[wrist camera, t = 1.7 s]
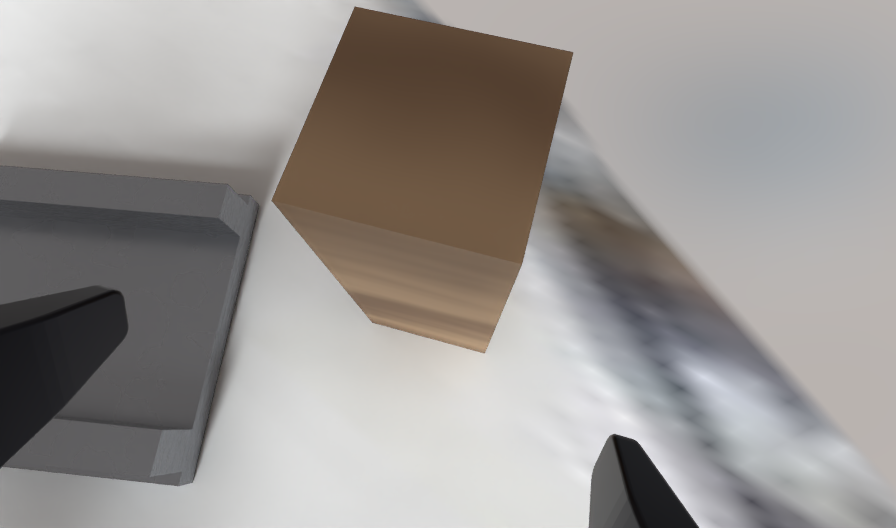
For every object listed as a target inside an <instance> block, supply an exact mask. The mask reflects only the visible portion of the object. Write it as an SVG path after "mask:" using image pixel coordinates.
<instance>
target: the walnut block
mask: <svg viewBox="0 0 896 528" xmlns="http://www.w3.org/2000/svg"><path fill="white" fill-rule="evenodd" d="M572 56H573V52H569V51H565V50H560V49H555V48H550V47H546V46H540V45H536V44H531V43H526V42H522V41H517V40H512V39H507V38H502V37H498V36H493V35H488V34H483V33H479V32H474V31H469V30H464V29H460V28H455V27H450V26H445V25H440V24H436V23H431V22H426V21H421V20H417V19H412V18H407V17H402V16H397V15H393V14H388V13H383V12H378V11H374V10H369V9H364V8H359V7H354V10H353V12H352V14H351V17H350V19H349V21H348V24H347V26H346V28H345V31H344V33H343V35H342V38H341V40H340V42H339V45H338V47H337V49H336V51H335V54H334V56H333V58H332V61H331V63H330V65H329V68H328V70H327V72H326V75H325V77H324V79H323V82H322V84H321V86H320V89H319V91H318V93H317V96H316V98H315V100H314V103H313V105H312V107H311V110H310V112H309V114H308V117H307V119H306V121H305V124H304V126H303V128H302V131H301V133H300V135H299V138H298V140H297V142H296V144H295V147H294V149H293V151H292V154H291V156H290V158H289V161H288V163H287V165H286V168H285V170H284V172H283V175H282V177H281V179H280V182H279V184H278V186H277V189H276V191H275V193H274V196H273V198H272V202H273V203H274V204H275V205H276V206H277V208H278V209H279V210H280V211H281V212H282V214H283V215H284V216H285V217H286V218H287V220H288V221H289V222H290V223H291V225H292V226H293V227H294V228H295V229H296V231H297V232H298V233H299V234H300V235H301V237H302V238H303V239H304V240H305V242H306V243H307V244H308V245H309V246H310V248H311V249H312V250H313V251H314V252H315V254H316V255H317V256H318V257H319V258H320V260H321V261H322V262H323V263H324V265H325V266H326V267H327V268H328V269H329V271H330V272H331V273H332V274H333V275H334V277H335V278H336V279H337V280H338V281H339V283H340V284H341V285H342V286H343V288H344V289H345V290H346V291H347V292H348V294H349V295H350V296H351V297H352V298H353V300H354V301H355V302H356V303H357V304H358V306H359V307H360V308H361V309H362V311H363V312H364V313H365V314H366V315H367V317H368V318H369V319H370V320H371V321H372V322H373V323H376V324H380V325H384V326H387V327H391V328H395V329H398V330H402V331H405V332H409V333H413V334H416V335H420V336H424V337H427V338H431V339H434V340H438V341H442V342H445V343H449V344H453V345H456V346H460V347H463V348H467V349H471V350H474V351H478V352H482V353H485V351H486V349H487V347H488V344H489V342H490V339H491V337H492V335H493V332H494V330H495V328H496V325H497V323H498V320H499V318H500V316H501V313H502V311H503V308H504V306H505V304H506V301H507V299H508V297H509V294H510V292H511V289H512V287H513V285H514V282H515V280H516V277H517V275H518V273H519V270H520V268H521V266H522V262H523V258H524V254H525V250H526V246H527V242H528V238H529V233H530V229H531V225H532V221H533V217H534V213H535V209H536V204H537V200H538V196H539V192H540V188H541V184H542V180H543V176H544V171H545V167H546V163H547V159H548V155H549V151H550V147H551V142H552V138H553V134H554V130H555V126H556V122H557V118H558V114H559V109H560V105H561V101H562V97H563V93H564V89H565V84H566V80H567V76H568V72H569V68H570V64H571V60H572Z"/></svg>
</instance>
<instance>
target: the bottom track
mask: <svg viewBox="0 0 896 528" xmlns="http://www.w3.org/2000/svg"><path fill="white" fill-rule="evenodd" d="M258 207H259V204H258V203H257V202H256V201H255V200H254V199H253V197H252V196H251V195H241V194H237V193H236V192H235V191H234V190H233V189H232V188H231V187H230V186H229V185H228V184H219V183H206V182H194V181H182V180H170V179H157V178H145V177H133V176H121V175H108V174H96V173H84V172H72V171H59V170H47V169H35V168H23V167H10V166H0V304H5V303H9V302H14V301H19V300H24V299H29V298H34V297H39V296H44V295H49V294H54V293H59V292H63V291H68V290H73V289H78V288H83V287H88V286H93V285H103V286H106V287H110V288H113V289H117V290H119V291H120V292H122V294H123V295H124V298H125V305H126V311H127V317H128V324H129V329H128V333H127V336H126V337H125V339H124V340H123V342H122V343H121V344H120V345H119V346H118V347H117V348H116V350H115V351H114V352H113V353H112V354H111V355H110V356H109V358H108V359H107V360H106V361H105V362H104V363H103V364H102V366H101V367H100V368H99V369H98V370H97V371H96V372H95V374H94V375H93V376H92V377H91V378H90V379H89V380H88V382H87V383H86V384H85V385H84V386H83V387H82V388H81V389H80V391H79V392H78V393H77V394H76V395H75V396H74V397H73V398H72V400H71V401H70V402H69V403H68V404H67V405H66V406H65V407H64V408H63V409H62V410H61V411H60V412H59V413H58V414H57V415H56V416H55V417H54V418H53V419H52V420H51V421H50V422H49V423H48V424H47V425H46V426H45V427H44V428H43V429H41V430H40V431H39V432H38V433H37V434H36V435H35V436H34V437H33V438H32V439H31V440H30V441H29V442H28V443H27V444H26V445H25V446H24V447H23V448H22V449H21V450H20V451H18V452H17V453H16V454H15V455H14V456H13V457H12V458H11V459H10V460H9V461H8V462H7V463H6V464H5V465H4V466H3V467H11V468H20V469H29V470H38V471H47V472H56V473H66V474H75V475H84V476H93V477H102V478H111V479H120V480H129V481H138V482H147V483H156V484H165V485H174V486H180V485H185V484H189V483H192V482H193V478H194V474H195V469H196V465H197V461H198V457H199V453H200V449H201V444H202V440H203V436H204V432H205V428H206V424H207V420H208V415H209V411H210V407H211V403H212V399H213V395H214V390H215V386H216V382H217V378H218V374H219V370H220V365H221V361H222V357H223V353H224V349H225V345H226V340H227V336H228V332H229V328H230V324H231V320H232V316H233V311H234V307H235V303H236V299H237V295H238V291H239V286H240V282H241V278H242V274H243V270H244V266H245V261H246V257H247V253H248V249H249V245H250V241H251V237H252V232H253V228H254V224H255V220H256V216H257V212H258Z"/></svg>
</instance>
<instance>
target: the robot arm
mask: <svg viewBox="0 0 896 528" xmlns="http://www.w3.org/2000/svg"><path fill="white" fill-rule="evenodd" d="M128 329H129V324H128V317H127V311H126V305H125V298H124V295H123V294H122V292H120V291H119V290H117V289H113V288H110V287H106V286H103V285H93V286H88V287H83V288H78V289H73V290H68V291H63V292H59V293H54V294H49V295H44V296H39V297H34V298H29V299H24V300H19V301H14V302H9V303H5V304H0V469H1V468H2V467H3V466H4V465H5V464H6V463H7V462H8V461H9V460H10V459H11V458H12V457H13V456H14V455H15V454H16V453H17V452H18V451H20V450H21V449H22V448H23V447H24V446H25V445H26V444H27V443H28V442H29V441H30V440H31V439H32V438H33V437H34V436H35V435H36V434H37V433H38V432H39V431H40V430H41V429H43V428H44V427H45V426H46V425H47V424H48V423H49V422H50V421H51V420H52V419H53V418H54V417H55V416H56V415H57V414H58V413H59V412H60V411H61V410H62V409H63V408H64V407H65V406H66V405H67V404H68V403H69V402H70V401H71V400H72V398H73V397H74V396H75V395H76V394H77V393H78V392H79V391H80V389H81V388H82V387H83V386H84V385H85V384H86V383H87V382H88V380H89V379H90V378H91V377H92V376H93V375H94V374H95V372H96V371H97V370H98V369H99V368H100V367H101V366H102V364H103V363H104V362H105V361H106V360H107V359H108V358H109V356H110V355H111V354H112V353H113V352H114V351H115V350H116V348H117V347H118V346H119V345H120V344H121V343H122V342H123V340H124V339H125V337H126V336H127V333H128ZM589 528H699V527H698V525H697V524H696V523H695V521H694V520H693V518H692V517H691V516H690V514H689V513H688V511H687V510H686V509H685V507H684V506H683V504H682V503H681V502H680V500H679V499H678V497H677V496H676V495H675V493H674V492H673V490H672V489H671V487H670V486H669V485H668V483H667V482H666V480H665V479H664V478H663V476H662V475H661V473H660V472H659V471H658V469H657V468H656V466H655V465H654V464H653V462H652V461H651V459H650V458H649V457H648V455H647V454H646V452H645V451H644V450H643V448H642V447H641V445H640V444H639V443H638V442H637V441H636V440H634V439H630V438H627V437H624V436H620V435H617V434H613V435H610V436H609V438H608V439H607V441H606V443H605V445H604V447H603V449H602V451H601V453H600V455H599V458H598V460H597V462H596V464H595V466H594V469H593V473H592V479H591V495H590V514H589Z"/></svg>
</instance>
